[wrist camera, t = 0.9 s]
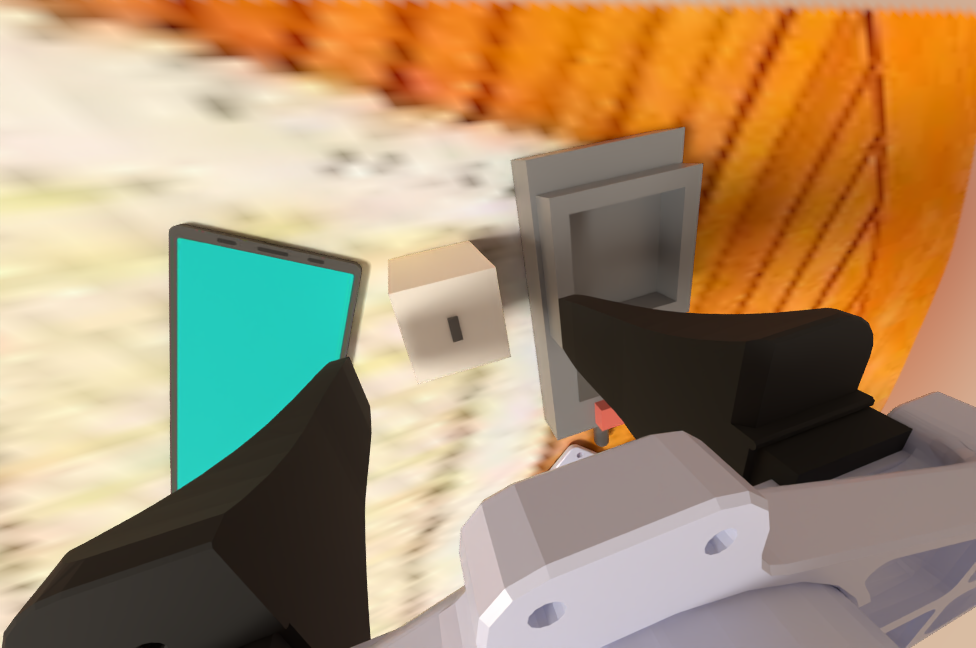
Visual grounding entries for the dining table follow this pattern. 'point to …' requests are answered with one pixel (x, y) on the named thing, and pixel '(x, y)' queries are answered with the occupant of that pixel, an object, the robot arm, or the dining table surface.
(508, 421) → the dining table surface
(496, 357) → the block
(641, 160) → the power strip
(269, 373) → the smartphone
